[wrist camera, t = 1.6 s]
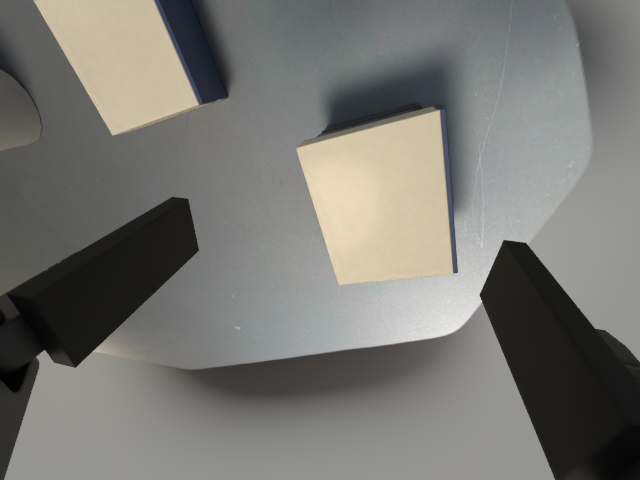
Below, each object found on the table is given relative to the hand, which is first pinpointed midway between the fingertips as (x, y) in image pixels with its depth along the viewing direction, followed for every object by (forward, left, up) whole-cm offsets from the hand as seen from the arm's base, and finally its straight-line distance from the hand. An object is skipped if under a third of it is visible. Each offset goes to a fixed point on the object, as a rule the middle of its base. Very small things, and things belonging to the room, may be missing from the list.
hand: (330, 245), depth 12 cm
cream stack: (+17, -14, -18) cm, 28 cm away
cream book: (-1, +4, -13) cm, 14 cm away
